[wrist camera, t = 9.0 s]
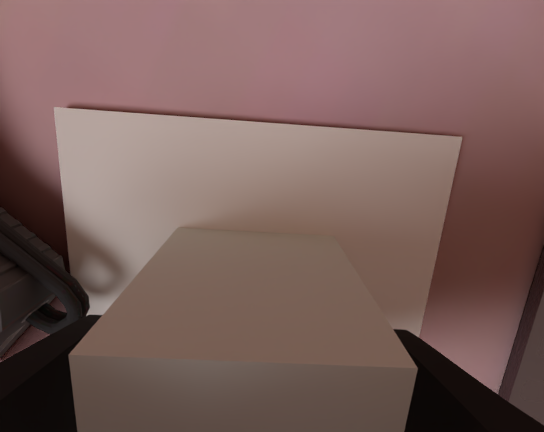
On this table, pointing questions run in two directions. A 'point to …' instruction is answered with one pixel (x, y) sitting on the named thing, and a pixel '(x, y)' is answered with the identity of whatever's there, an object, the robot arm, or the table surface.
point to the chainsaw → (33, 285)
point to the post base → (528, 355)
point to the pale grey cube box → (243, 343)
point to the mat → (253, 195)
